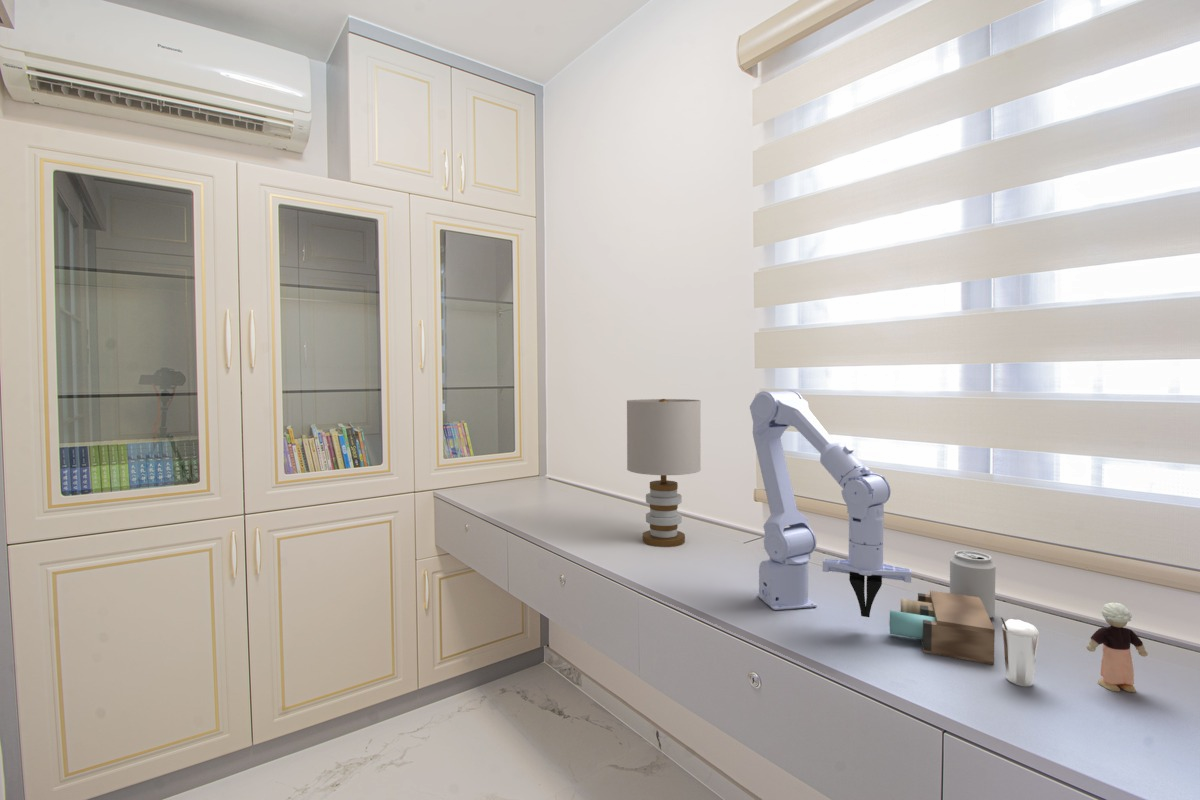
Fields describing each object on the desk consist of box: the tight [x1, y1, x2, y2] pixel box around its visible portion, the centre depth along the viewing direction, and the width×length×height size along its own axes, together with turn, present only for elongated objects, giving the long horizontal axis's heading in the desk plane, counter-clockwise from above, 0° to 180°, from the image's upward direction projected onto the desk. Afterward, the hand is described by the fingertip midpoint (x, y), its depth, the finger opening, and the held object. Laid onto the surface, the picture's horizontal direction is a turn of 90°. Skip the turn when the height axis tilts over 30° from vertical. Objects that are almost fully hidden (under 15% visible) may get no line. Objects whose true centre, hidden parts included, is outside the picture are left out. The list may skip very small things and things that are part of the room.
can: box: [949, 549, 997, 619], centre depth 111 cm, size 8×8×12 cm
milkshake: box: [1000, 616, 1040, 687], centre depth 87 cm, size 4×5×10 cm
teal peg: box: [889, 609, 936, 640], centre depth 100 cm, size 10×4×4 cm, turn 64°
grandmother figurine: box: [1086, 602, 1149, 693], centre depth 85 cm, size 8×4×13 cm, turn 92°
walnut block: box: [917, 590, 996, 665], centre depth 101 cm, size 10×15×6 cm, turn 154°
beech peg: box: [900, 598, 933, 615], centre depth 105 cm, size 10×4×4 cm, turn 64°
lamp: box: [626, 398, 702, 548], centre depth 163 cm, size 21×21×41 cm
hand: (865, 614), depth 104 cm, fingers closed
